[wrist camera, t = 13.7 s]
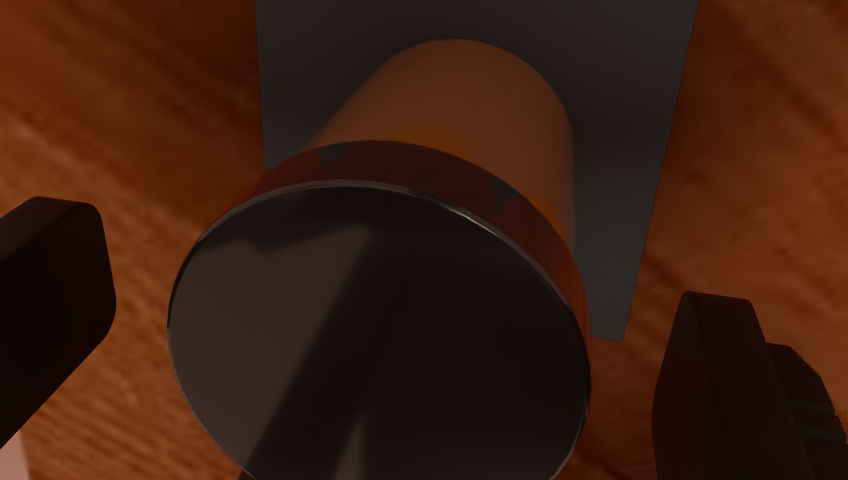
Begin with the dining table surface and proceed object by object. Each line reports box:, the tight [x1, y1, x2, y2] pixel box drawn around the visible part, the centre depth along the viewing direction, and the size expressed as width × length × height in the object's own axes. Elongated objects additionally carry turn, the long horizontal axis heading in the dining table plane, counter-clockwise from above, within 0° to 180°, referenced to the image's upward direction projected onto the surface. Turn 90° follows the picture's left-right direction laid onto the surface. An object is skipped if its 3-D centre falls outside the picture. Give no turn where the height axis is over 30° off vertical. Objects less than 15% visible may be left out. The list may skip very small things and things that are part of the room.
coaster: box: [255, 0, 699, 341], centre depth 16 cm, size 9×9×1 cm
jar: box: [167, 39, 592, 480], centre depth 13 cm, size 6×6×8 cm
